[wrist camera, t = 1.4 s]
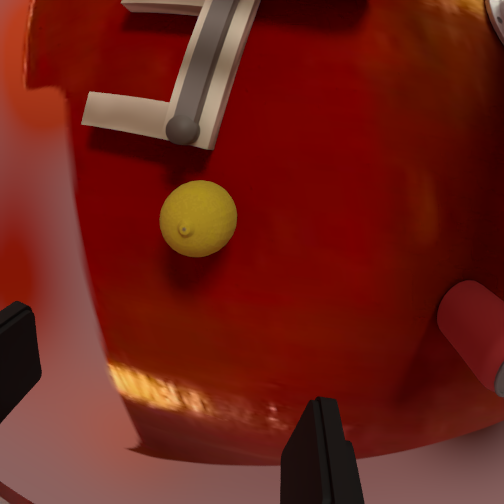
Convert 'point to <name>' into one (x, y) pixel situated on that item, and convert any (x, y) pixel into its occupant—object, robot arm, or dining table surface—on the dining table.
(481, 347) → the beer can
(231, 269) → the dining table surface
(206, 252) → the lemon
